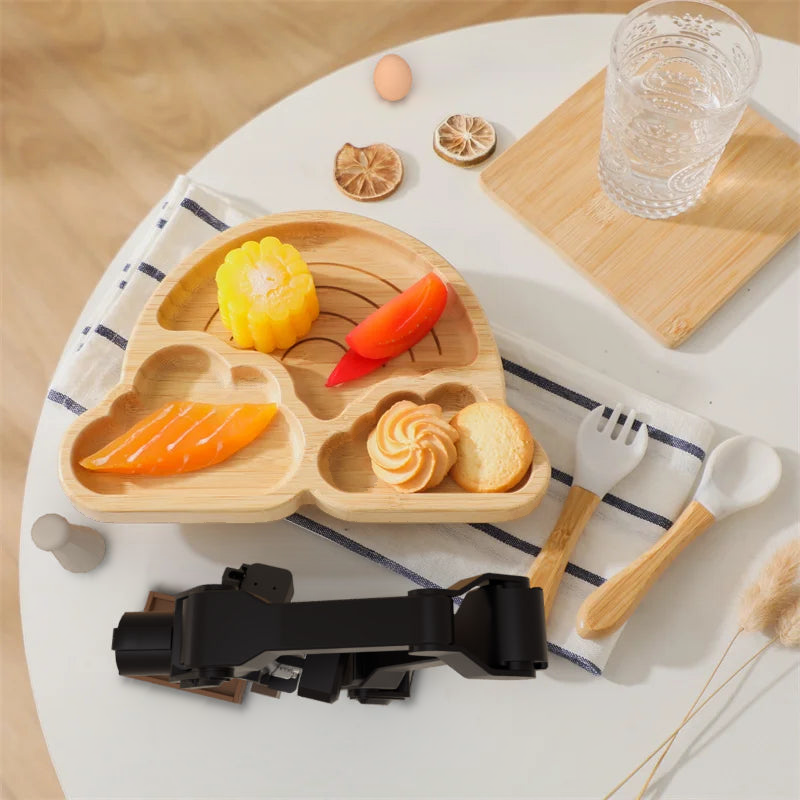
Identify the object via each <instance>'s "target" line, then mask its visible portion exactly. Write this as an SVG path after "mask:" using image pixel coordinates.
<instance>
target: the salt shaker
mask: <svg viewBox="0 0 800 800" xmlns="http://www.w3.org/2000/svg"><path fill="white" fill-rule="evenodd" d="M30 537H31V538H30V539H31V541H32V542H33V544H34V545H35V546H36V548H37V549H39V550H41V551H44V552H48V553H49V552H50V553H51V554H52V555H53V556H54V558H55V559H56V560H57V562H59V564H60V565H61V567H62V568H63V569H64V570H66V571H68V572H70V573H73V574H86V573H89V572H90V571H93V570H94V569H95V568H97V566H98V565H100V563H101V562H102V561H103V560H104V559H103V558H104V556H105V552H106V545H105V539H104V538H103V536H102V535H101V534H100V532H99V531H98V530H96V529H94V528H91V527H90V526H85V525H81V524H75V523H70V522H69V520H68V519H67V518H66V517H64V516H63V515H60V514H58V513H46V514H43V515H41V516H39V517H38V518H37V519H36V520H35V521H34V522H33V524H32V526H31V530H30Z"/></svg>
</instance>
